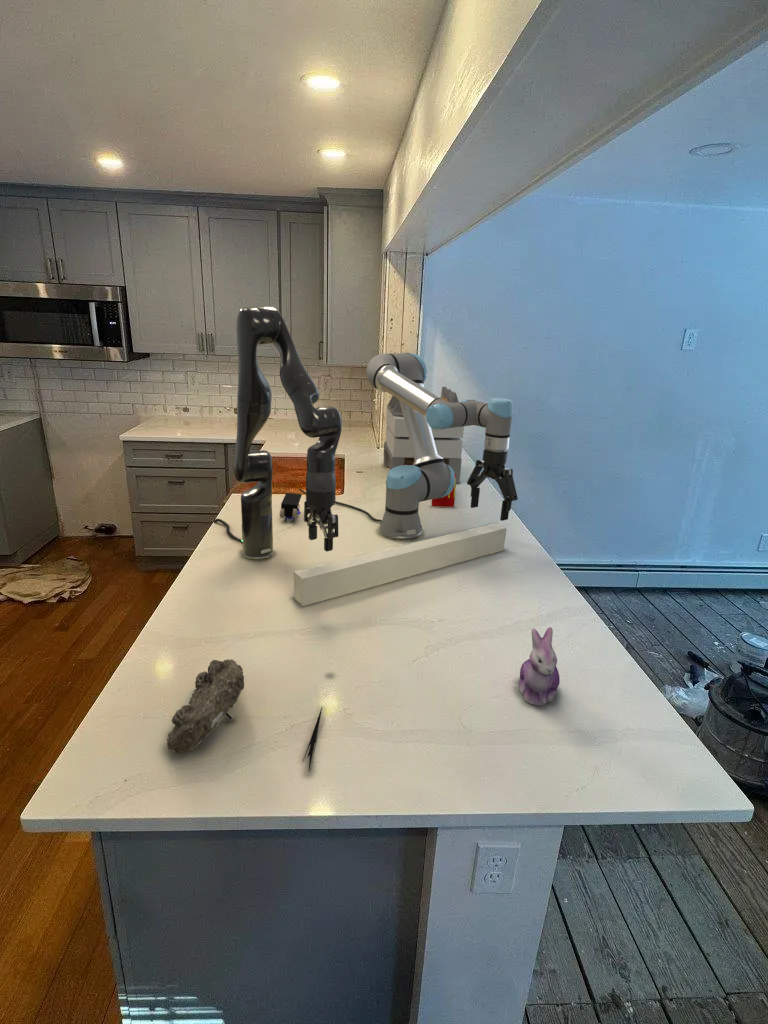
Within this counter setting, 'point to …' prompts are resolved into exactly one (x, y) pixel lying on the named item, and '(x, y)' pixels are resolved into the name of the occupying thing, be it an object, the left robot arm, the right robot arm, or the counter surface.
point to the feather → (313, 740)
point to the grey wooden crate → (399, 443)
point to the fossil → (206, 705)
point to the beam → (395, 563)
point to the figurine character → (290, 506)
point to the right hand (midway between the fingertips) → (488, 513)
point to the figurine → (540, 671)
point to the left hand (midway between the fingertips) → (320, 544)
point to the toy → (446, 499)
